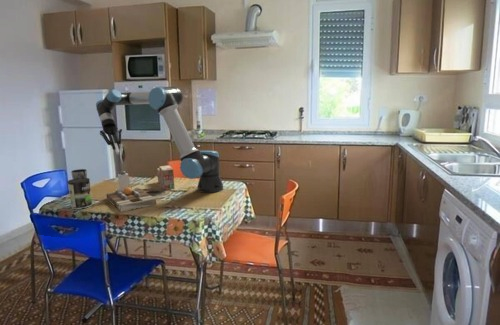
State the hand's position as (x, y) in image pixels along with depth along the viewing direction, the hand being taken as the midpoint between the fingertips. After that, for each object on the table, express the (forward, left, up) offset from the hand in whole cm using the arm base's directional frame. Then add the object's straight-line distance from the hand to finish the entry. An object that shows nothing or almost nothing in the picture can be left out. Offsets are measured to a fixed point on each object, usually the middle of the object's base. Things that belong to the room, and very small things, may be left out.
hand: (118, 153), depth 212 cm
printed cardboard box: (-22, -16, -24) cm, 36 cm away
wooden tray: (-14, +19, -23) cm, 33 cm away
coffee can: (+10, +26, -24) cm, 36 cm away
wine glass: (+20, +8, -23) cm, 32 cm away
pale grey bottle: (-7, +10, -20) cm, 24 cm away
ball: (-11, +15, -18) cm, 26 cm away
